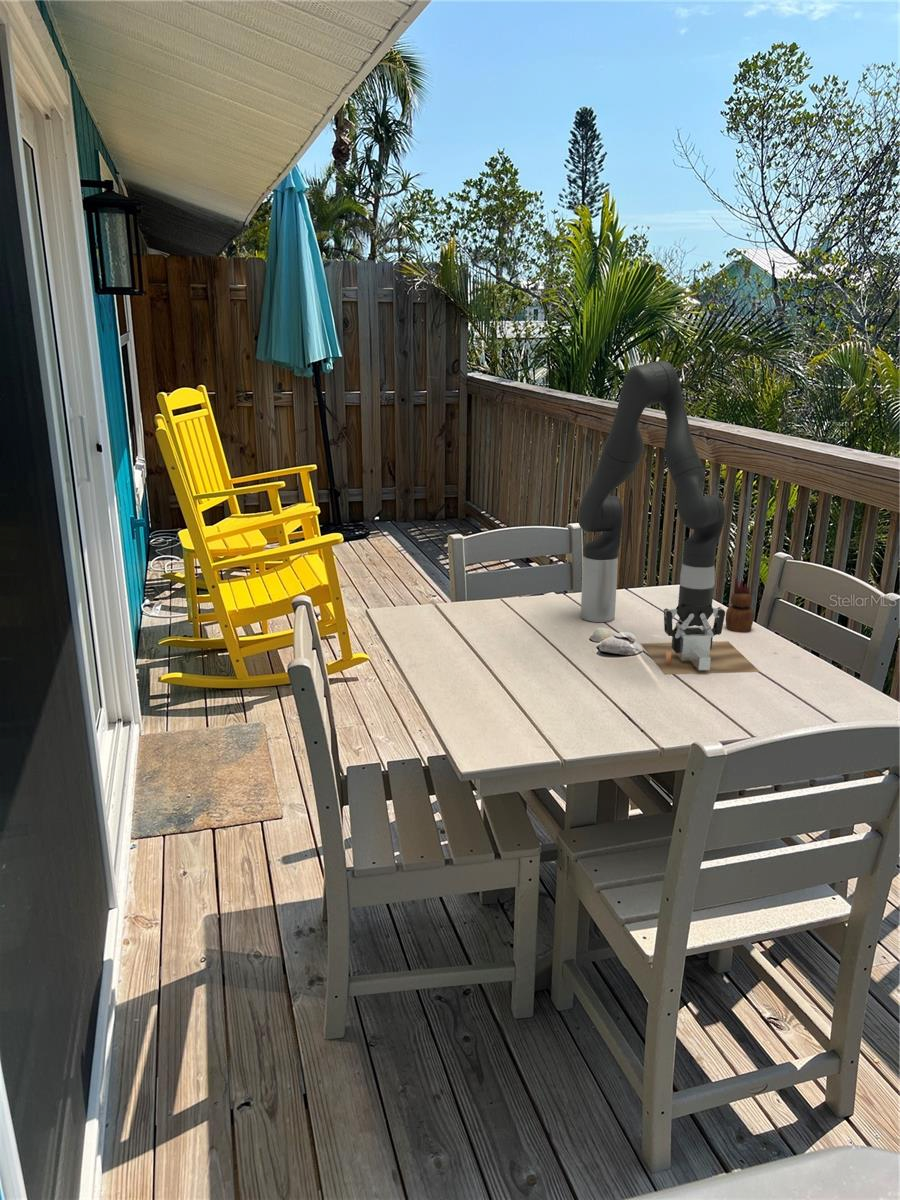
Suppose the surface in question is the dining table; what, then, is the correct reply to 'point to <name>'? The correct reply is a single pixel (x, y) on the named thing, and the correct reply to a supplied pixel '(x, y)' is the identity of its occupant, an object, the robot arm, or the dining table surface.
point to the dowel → (668, 658)
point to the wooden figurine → (740, 610)
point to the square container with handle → (695, 647)
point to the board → (721, 661)
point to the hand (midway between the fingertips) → (691, 651)
